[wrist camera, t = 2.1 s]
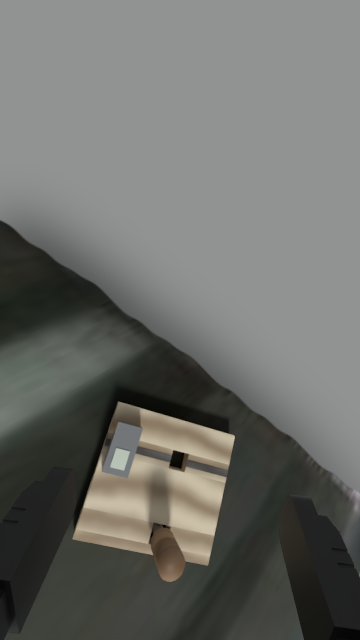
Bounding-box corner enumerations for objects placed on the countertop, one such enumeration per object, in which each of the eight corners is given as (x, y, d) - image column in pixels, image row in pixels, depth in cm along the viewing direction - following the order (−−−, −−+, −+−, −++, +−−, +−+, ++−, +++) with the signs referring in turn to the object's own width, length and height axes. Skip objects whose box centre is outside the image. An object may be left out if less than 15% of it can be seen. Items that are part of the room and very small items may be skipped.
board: (203, 557, 52) (208, 565, 49) (73, 531, 47) (72, 539, 45) (229, 433, 58) (235, 436, 56) (118, 401, 54) (118, 401, 51)
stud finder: (126, 473, 49) (128, 478, 46) (101, 467, 48) (101, 472, 45) (140, 426, 52) (143, 428, 49) (117, 419, 51) (118, 421, 48)
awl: (164, 542, 51) (180, 583, 40) (143, 538, 50) (154, 579, 39) (170, 517, 52) (188, 551, 41) (149, 513, 51) (162, 546, 41)
